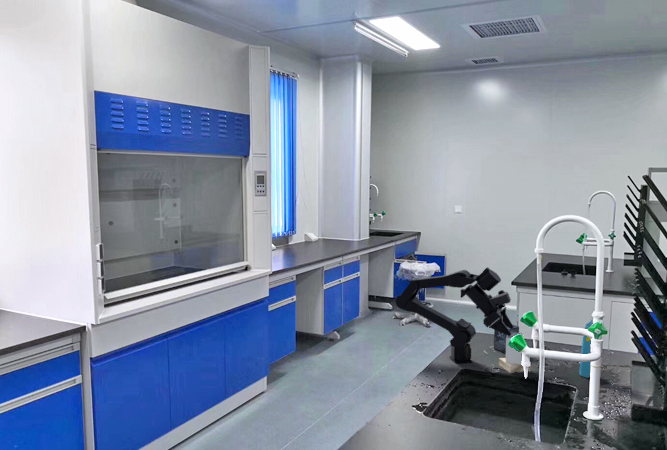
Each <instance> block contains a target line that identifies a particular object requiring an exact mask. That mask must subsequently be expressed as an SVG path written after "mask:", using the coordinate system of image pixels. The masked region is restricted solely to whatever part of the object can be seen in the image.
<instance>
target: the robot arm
mask: <svg viewBox="0 0 667 450" xmlns="http://www.w3.org/2000/svg"><path fill="white" fill-rule="evenodd" d="M501 281H502V279H501V277H500V276H499V274H498V273H497V272H495V271H494V270H492V269H490V268H489V267H486V268H484V270H482V272H481V273H480V274H474V273H471V272H469V271H468V270H467V269H462V270H458V271H455V272H452V273H449V274H447V275H439V276H437V275H436V276H428V277H422V278H421V277H420V278H419V277H416V278H414V279H412V280H411V281H410V282H409V284H408V285H407V286H406V287H405V289H404V290H403V291H402V292H401V294H399V295H397V296H396V298H395V305H396V307H397V308H398V309H400V310H402V311H405V312H409V313H415V314H417V315H419V316H421V317H422V318H424V319H426V320H428V321H430V322H431V323H433V324H435V325H437V326H438V327H440V328H442V329H444V330H446V331H448V332H449V334H450V335H451V336H452V338H451V339H450V340H449V344H450V347H451V348H450V355H449V359H450V360H452V362H454V363H455V364H463V363H472V361H473V360H472V348H471V344H470V342H471V341H472V340H473V339H474V338H475V337H476V333H477V332H476V331H477V330H476V328H475V326H474V325H473V324H472V322H468V321H467V320H465V319H463V318H459V319H458V320H454V319H453V318H451V317H449V316H447V315H445V314H443V313H441V312H439V311H437V310H436V309H434V308H432V307H430V306H429V305H426V304H425V303H422V301H421V300H420V299H419V298H418V296H417V295H418V294H419V292H420V290H421V289H429V288H430V289H431V288H438V287H439V288H440V287H449V288H459V289H460V288H461V289H460V298H464V297H465V296H467V297H468V298H469V300H471V302H472V303H473V304H474V305H475V308H476V309H477V310H480V311H481V312H482V313H483V317H484V318H483V325H484V326H485V327H486V328H489V329H492V330H493V331H494V330H497V331H499V332H501V333H504V334H506V335H508V336H510V335H511V332H510V331H509V330H508V328H507V327H509V328H511V329H512V328H514V326H513V325H514V324H513V323H512V321H511V320H510V318H509V316H508V315H507V306H506V305H507V304H509V303H511V301H512V299H511V297H510V294H509V293H508V291H504V290H503V289H500V290H499V291H497V294H496V295H494V296H493V295H492V294H487V293H486V291H488V292H490V291H491V290H492V289H494V288H495V287H496V286H498V284H499V283H501ZM473 283H474V284H473ZM467 285H468V286H467ZM466 286H467V287H466ZM464 287H466V288H464ZM506 326H507V327H506Z"/></svg>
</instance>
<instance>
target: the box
mask: <svg viewBox="0 0 667 450" xmlns="http://www.w3.org/2000/svg"><path fill="white" fill-rule="evenodd" d="M512 325H513V326H514V328H512V329H511V328H509V327H507V326H506V327H507V328H508V330H509V331H510V332H516V333H520V326H519V325H515V324H512ZM493 331H494V333H493V335H494V336H493V350H497V351H500V352H502V353H504V354H506V337H507V335H506V334H504V333H501V332H499V331H497V330H494V329H493Z"/></svg>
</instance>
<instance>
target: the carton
mask: <svg viewBox="0 0 667 450" xmlns="http://www.w3.org/2000/svg"><path fill="white" fill-rule="evenodd" d="M517 334H521V335H522V336H523V337H524V338H525V335H524V334H523V333H521V332H519V333H516V332H511V335H510V336H508V335H507V337H506V353H505V358H506V363H511V364H518V365H521V352H518V351H516V350H515V349H514V348H511V347H510V346H509V345H508V343H509V340H510V338H511V337H513V336H515V335H517Z"/></svg>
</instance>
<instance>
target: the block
mask: <svg viewBox="0 0 667 450" xmlns="http://www.w3.org/2000/svg"><path fill="white" fill-rule="evenodd" d="M498 366H500V367H501V368H503V370H505V371H507V372H508V373H509V374H516V373H515V372H517V373H524V372H523V367H522V365H518V364H511V363H506V357H499V358H498ZM530 372H532V366H531V367H530V368H529V373H530Z"/></svg>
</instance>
